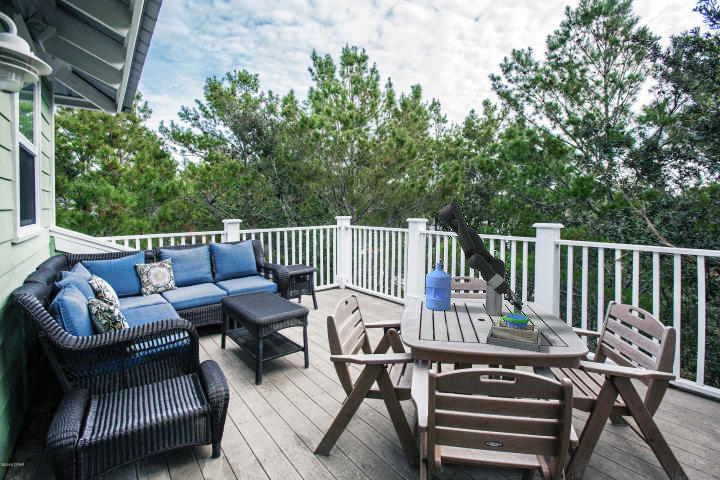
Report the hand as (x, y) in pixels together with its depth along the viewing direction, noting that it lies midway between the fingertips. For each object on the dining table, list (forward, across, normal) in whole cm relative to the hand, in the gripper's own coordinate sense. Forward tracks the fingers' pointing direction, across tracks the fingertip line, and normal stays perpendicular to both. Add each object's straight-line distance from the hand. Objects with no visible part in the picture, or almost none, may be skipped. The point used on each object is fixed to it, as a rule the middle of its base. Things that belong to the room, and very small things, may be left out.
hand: (521, 307), depth 189 cm
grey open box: (+6, -11, +9) cm, 16 cm away
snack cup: (+6, -17, +9) cm, 20 cm away
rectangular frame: (+6, -19, +9) cm, 22 cm away
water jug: (-28, +19, +42) cm, 54 cm away
